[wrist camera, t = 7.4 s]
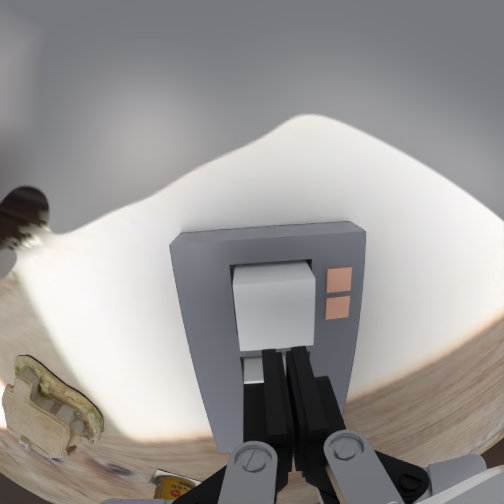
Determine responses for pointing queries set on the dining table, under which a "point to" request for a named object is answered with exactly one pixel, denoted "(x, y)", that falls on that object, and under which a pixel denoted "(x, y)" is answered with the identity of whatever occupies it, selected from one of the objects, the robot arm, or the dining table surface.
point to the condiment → (171, 485)
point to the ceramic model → (48, 412)
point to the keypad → (224, 315)
